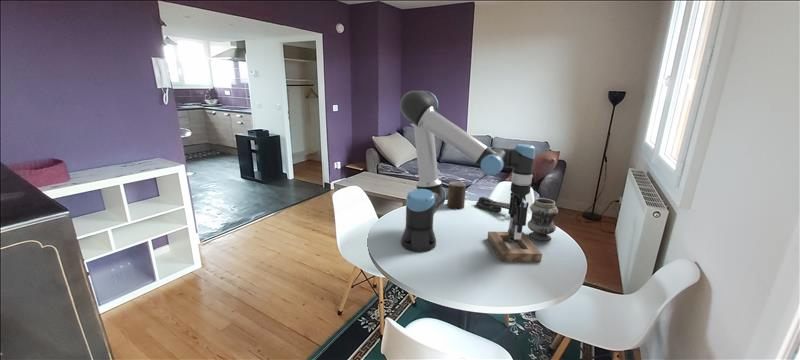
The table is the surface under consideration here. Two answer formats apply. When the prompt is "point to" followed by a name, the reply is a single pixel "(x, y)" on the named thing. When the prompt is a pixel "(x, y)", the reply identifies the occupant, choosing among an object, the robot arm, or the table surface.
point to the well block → (514, 248)
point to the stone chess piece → (513, 230)
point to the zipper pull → (491, 205)
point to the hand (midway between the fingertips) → (514, 235)
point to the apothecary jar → (542, 219)
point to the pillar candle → (456, 195)
